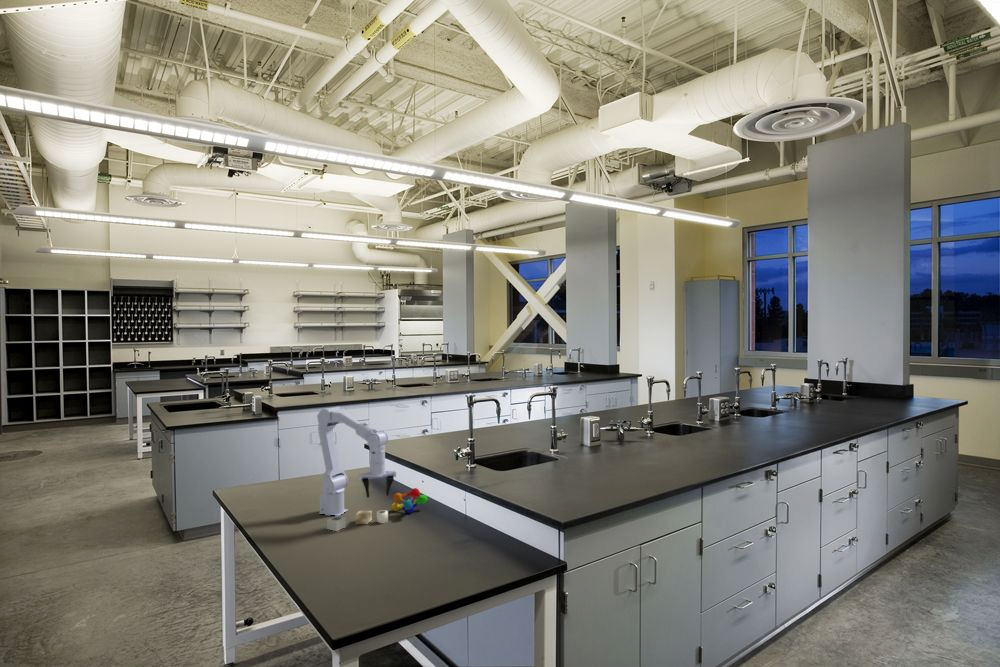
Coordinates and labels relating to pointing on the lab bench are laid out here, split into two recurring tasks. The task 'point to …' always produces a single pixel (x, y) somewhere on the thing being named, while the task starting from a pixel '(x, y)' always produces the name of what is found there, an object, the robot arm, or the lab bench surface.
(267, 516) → the lab bench surface
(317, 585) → the lab bench surface
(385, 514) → the offwhite stopper
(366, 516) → the beech block
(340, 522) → the grey labelled block
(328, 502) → the robot arm
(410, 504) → the molecular model
